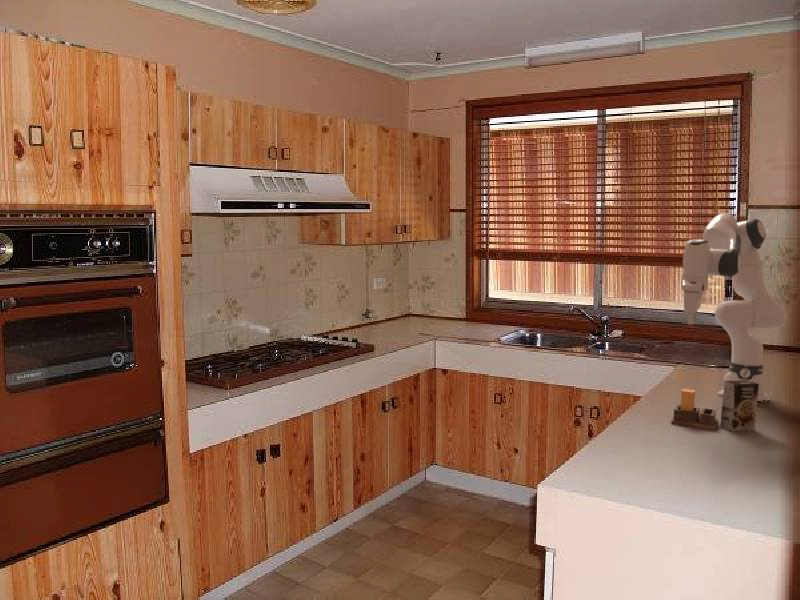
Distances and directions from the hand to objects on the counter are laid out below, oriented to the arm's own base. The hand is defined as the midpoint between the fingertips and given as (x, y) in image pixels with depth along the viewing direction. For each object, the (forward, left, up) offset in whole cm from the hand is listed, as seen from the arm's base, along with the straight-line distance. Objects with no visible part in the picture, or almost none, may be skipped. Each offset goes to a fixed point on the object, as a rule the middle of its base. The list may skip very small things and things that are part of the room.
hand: (691, 322), depth 257 cm
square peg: (+13, +2, -32) cm, 35 cm away
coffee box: (+12, +18, -33) cm, 40 cm away
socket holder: (+13, +4, -33) cm, 36 cm away
